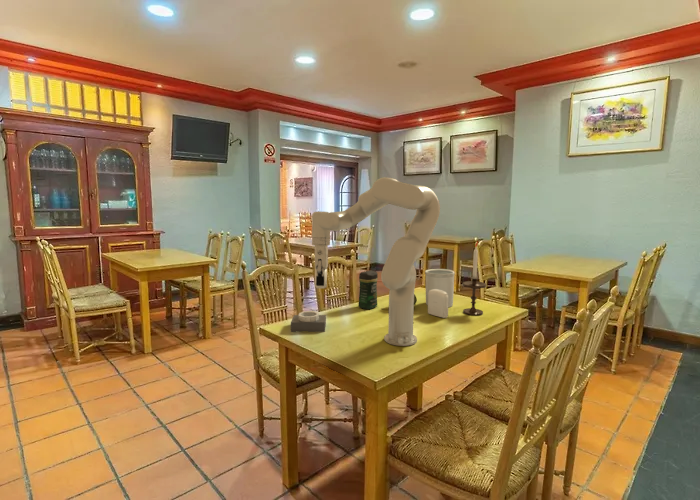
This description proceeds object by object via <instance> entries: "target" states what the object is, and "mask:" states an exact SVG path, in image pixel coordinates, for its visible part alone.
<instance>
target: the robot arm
mask: <svg viewBox="0 0 700 500" xmlns="http://www.w3.org/2000/svg"><path fill="white" fill-rule="evenodd" d="M371 186H372V187H371V188H369V189H368V190H366V191H364V192H362V193H361V194H360V195H359V196H358V199H357V200H358V201H357V202H356V203H354V204H353V205H351V206H350V207H348V208H346V209H345V210H341V211H333V212H332V211H331V212H328V211H321V210H320V211H313V212H312V215H311V245H312V246H314V270H315V269H317V276H316V285H317V286H324V276H323V275H324V268H325V269H327V270H328V267H329V247H328V246H330V245H331V231H333V232H335V231H336V232H337V231H341V230H347V229H350V228H352V227H353V226H355V225H357V224H359V223H361V222H362V221H364V220H365V219H367V218H368V217H370V215H372V214H374V213H375V212H377V211H379V210H381V209H382V208H384V207H386V206H388V205H392V206H396V207H398V208H402V209H407V210H413V211H414V210H415V211H416V212H415V215H414V216H413V218H412V220H411V221H410V225H409V227H408V229H407V231H406V233H405V235H403V236H402V237H399V238H398V239H396V241H395V242H394V243H393V245H392V246H391V249H390V251H389V253H388V256H387V259H386V260H385V262H384V265H383V267H382V271H381V275H380V278H381V282H382V284H383V286H385V288H386V289H389V292H388V293H389V294H388V333H386V334H385V335H384V337H383V338H384V341H385V342H386V343H387V344H389V345H391V346H399V347H406V346H407V347H408V346H412V345H415V344H416V343H418V342H417V341H418V338H417V336H416V335H415V334H414V314H415V312H414V310H415V309H414V307H415V305H414V294H415V287H416V281H417V280H416V279H417V270H416V267H415V261H417V260H420V258H422V256H423V255H424V254H425V252H426V249H427V246H428V244H429V241H430V239H431V237H432V235H433V232H434V229H435V228H436V225H437V223H438V220H439V217H440V211H441V206H440V201H439V199H438V196H437V195H436V193H435V191H433V190H432V189H431V188H429V187H428V186H426V185H425V186H424V185H416V184H411V183H405V182H401V181H399V180H397V179H396V178H392V177H387V176H386V177H384V176H383V177H381V178H378V179H376V180H375V181H374V182H373V184H372V185H371ZM321 268H323V269H321ZM321 270H322V271H321Z"/></svg>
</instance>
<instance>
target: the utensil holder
mask: <svg viewBox="0 0 700 500" xmlns="http://www.w3.org/2000/svg"><path fill="white" fill-rule="evenodd" d="M424 274H425V304H426V306H428V293H429V291H430V290H433V289H438V290H442V291H444V292H446V293H447V294H448V296H449V301H448V308H450V307H453V304H454V294H455V293H454V292H455V291H454V286H455V283H454V282H455V271H454V270H452V269H446V268H434V269H433V268H432V269H430V268H429V269H426V270H425V271H424Z"/></svg>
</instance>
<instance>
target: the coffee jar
mask: <svg viewBox="0 0 700 500" xmlns="http://www.w3.org/2000/svg"><path fill="white" fill-rule="evenodd" d="M378 274H379V273H378V272H377V271H376V270H372V269H371V270H370V269H369V270H367V271H366V270H365V271H362V272H360V273H359V276H358V281H359V292H358V293H359V294H358V308H360V309H362V308H363V310H365V309H366V310H371V309H374V308H376V307H378V295H377V294H378V289H377V284H378V280H379V279H378Z"/></svg>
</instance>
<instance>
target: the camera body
mask: <svg viewBox="0 0 700 500" xmlns="http://www.w3.org/2000/svg"><path fill="white" fill-rule="evenodd" d="M326 325H327V315H326V314H320V313H319V312H318V311H313V310H312V311H311V310H308V311H307V310H305V311H300V312H299V313H298V314H294V315H293V317H292V319H291V320H290V332H291V333H294V332H295V333H297V332H296V331H308V332H307V333H317V332H319V333H323V332H326Z"/></svg>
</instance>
